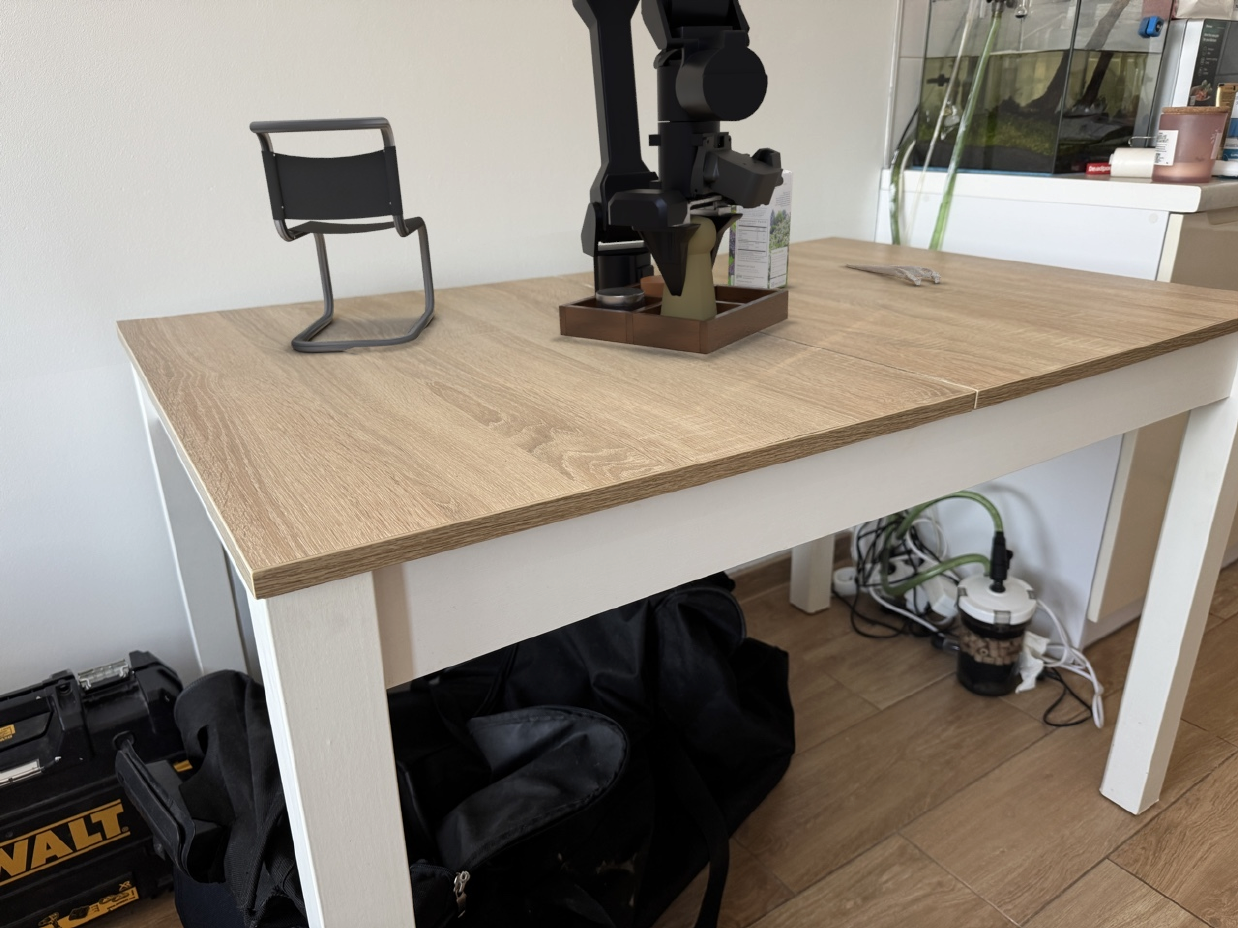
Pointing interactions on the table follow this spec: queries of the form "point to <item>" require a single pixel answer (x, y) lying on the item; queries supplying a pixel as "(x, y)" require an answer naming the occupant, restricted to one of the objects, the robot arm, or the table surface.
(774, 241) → the syrup box
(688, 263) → the olive peg figure
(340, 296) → the table surface
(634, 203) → the robot arm
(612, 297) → the tin
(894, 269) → the grey long forked piece
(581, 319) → the tray
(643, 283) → the tin
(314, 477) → the table surface
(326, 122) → the chair
